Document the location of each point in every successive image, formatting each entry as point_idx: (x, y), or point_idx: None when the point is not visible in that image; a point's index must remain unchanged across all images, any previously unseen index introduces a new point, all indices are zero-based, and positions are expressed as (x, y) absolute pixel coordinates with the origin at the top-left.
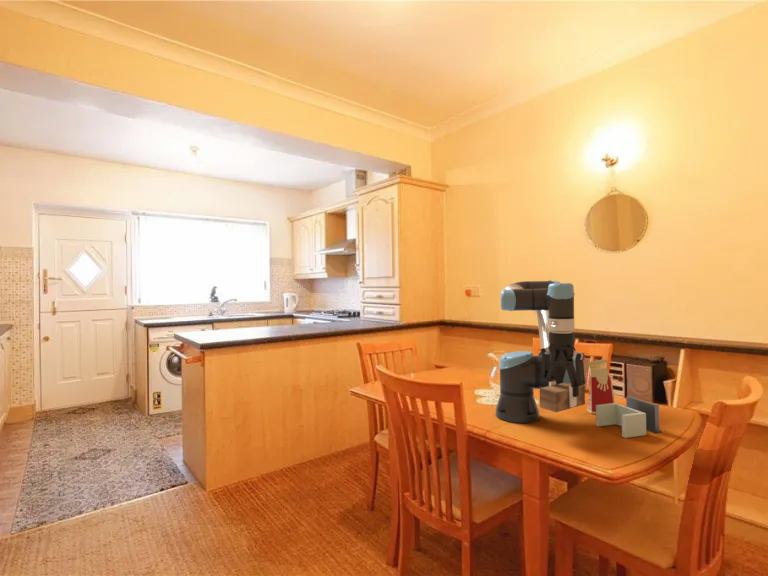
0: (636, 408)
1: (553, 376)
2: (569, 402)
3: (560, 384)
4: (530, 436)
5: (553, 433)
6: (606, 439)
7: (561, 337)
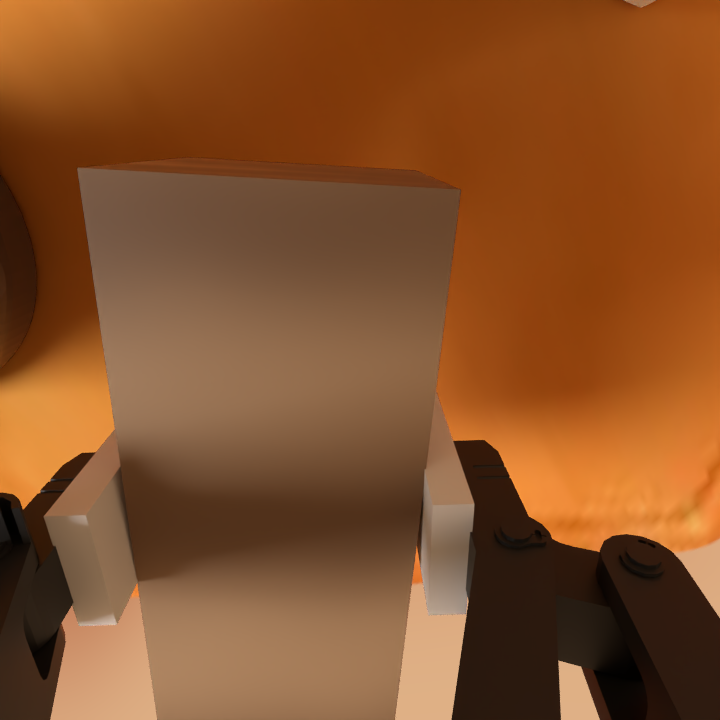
0: None
1: (21, 613)
2: None
3: (155, 439)
4: None
5: None
6: (543, 150)
7: None
